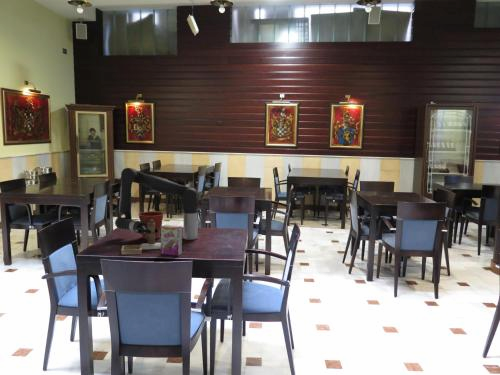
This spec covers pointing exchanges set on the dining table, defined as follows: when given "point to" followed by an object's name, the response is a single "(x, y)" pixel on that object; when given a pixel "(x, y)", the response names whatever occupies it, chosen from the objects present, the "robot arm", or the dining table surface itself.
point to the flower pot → (156, 217)
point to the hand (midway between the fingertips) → (153, 231)
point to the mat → (151, 246)
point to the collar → (131, 249)
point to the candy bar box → (171, 240)
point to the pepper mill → (151, 236)
